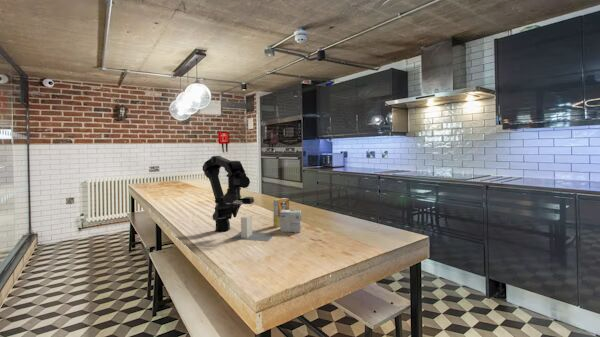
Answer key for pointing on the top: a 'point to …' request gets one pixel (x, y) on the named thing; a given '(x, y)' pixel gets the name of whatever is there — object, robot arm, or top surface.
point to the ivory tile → (246, 226)
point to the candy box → (279, 209)
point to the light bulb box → (290, 220)
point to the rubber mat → (255, 236)
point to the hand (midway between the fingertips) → (234, 217)
